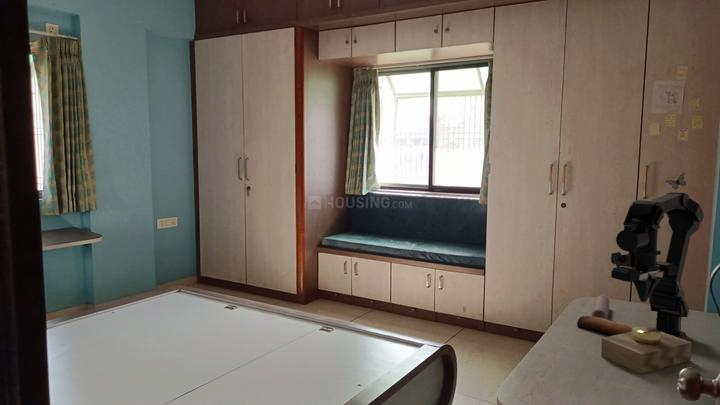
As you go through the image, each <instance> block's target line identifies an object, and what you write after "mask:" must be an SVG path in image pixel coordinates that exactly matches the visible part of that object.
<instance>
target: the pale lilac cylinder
mask: <svg viewBox="0 0 720 405" xmlns="http://www.w3.org/2000/svg"><path fill="white" fill-rule="evenodd" d="M594 300H595V301H594V304H593V308H592V311H591V316H594V317H599V318H603V319H606V320H608V317H609V312H610V304H611V301H610V299H609V298H608V296H605V295H598V296H597V297H596V298H595V299H594Z"/></svg>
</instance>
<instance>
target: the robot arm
mask: <svg viewBox="0 0 720 405" xmlns="http://www.w3.org/2000/svg"><path fill="white" fill-rule="evenodd" d="M665 214H666V216H667V218H668V221H667V222H668V223H667V224H668V225H669V227H670V229H671V235H670V236H671V237H670V240H669V241H670V242H669V246H668V250H667V254H666V259H665V261H662V260H658V255H661V254H662V252H661V250H659V249H658V232H659V229H661V225H660V224H661V221H662V220H663V219H664V218H665ZM704 215H705V214H704V211H703V209H702V207H701V205H700V203H698V202H696V201H695V200H693V199H692V198H690V196H689V194H688V193H685V192H677V191H675V192H673V191H670V192H667V193H666V194H664V195H661V196H659V197H656V198H653V199H651V200H648V199H647V200H646V199H635V200H633V201H632V203H631V204H630V206H629V208H628V210H627V212H626V216H625V218H624V221H623V229H622V230H620V231H618V234H616V237H615V242H616V245H617V246H618V247H619V249H620V250H622V251H624V252H628V253H626V254H622V253H621V252H619V251H618V252H612V253H610V254H611V256H610V262H611V264H612V265H616V267H613V268H612V269H611V270H610V278H612V279H614V280H615V279H616V280H619V281H621V282H622V281H623V282H626V283H633V285H634V286H635V289H636V293H637V294H638V298H639V300H640V302H642V303H645V302H647V301H648V300H649V307H650V311H651V312H656V320H655V321H656V323H655V328H654V329H656V330H659V331H661V332H664V333H666V334H669V335H672V336H675V337H680V336H684V335H687V333H686V332H685V331H682V318H688V317H689V316H688V315H689V312H690V311H689V310H690V306H689V304H688V303H687V300H686V299H685V293H686V292H685V290H684V288H683V286H682V284H681V281H682V277H683V273H684V268H685V263H686V259H687V255H688V249H689V246H690V240H691V237H692V236H693V235H694V234H695V233H696V232H697V231H698V230H699V229H700V227H701V223H702V222H703V220H704ZM658 273H662V276H661V277H660V276H658V275H659V274H658Z"/></svg>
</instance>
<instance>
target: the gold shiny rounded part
mask: <svg viewBox="0 0 720 405" xmlns="http://www.w3.org/2000/svg"><path fill="white" fill-rule="evenodd" d="M631 328H632V339H633V340H634V341H635V342H638V343H641V344H646V345H658V344H660V343H661V332H660V331H659V330H656V329H654V328H653V327H647V326H634V327H631Z"/></svg>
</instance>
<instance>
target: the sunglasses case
mask: <svg viewBox="0 0 720 405" xmlns="http://www.w3.org/2000/svg"><path fill="white" fill-rule="evenodd" d="M576 324H577V327H581V328H585V329H589V330H590V329H591V330H593V331H598V332H602V333H605V334H608V335H611V336H614V335H618V334H623V333H628V332H632V328H633V327H631V326H629V325H628V324H626V323H622V322H617V321H614V320H609V319H607V320H606V319H603V318H599V317H594V316H592V315H583V316H579V318H578V319H577V322H576Z"/></svg>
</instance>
